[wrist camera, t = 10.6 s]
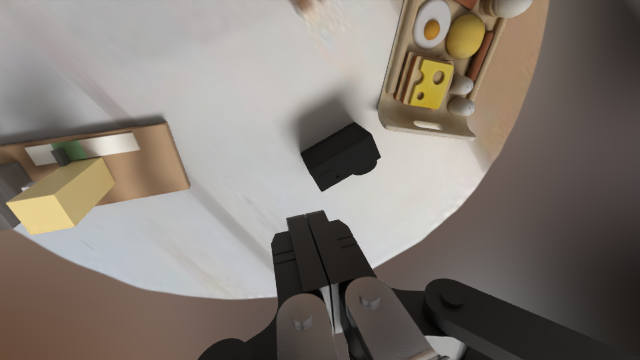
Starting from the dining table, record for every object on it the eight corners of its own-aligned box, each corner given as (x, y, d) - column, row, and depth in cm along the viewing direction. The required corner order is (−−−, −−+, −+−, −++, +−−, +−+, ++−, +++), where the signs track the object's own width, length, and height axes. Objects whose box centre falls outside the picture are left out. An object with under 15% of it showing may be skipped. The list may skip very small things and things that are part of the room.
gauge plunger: (93, 142, 33) (40, 175, 25) (115, 183, 36) (75, 226, 28) (24, 151, 32) (-58, 191, 23) (53, 194, 35) (-11, 243, 26)
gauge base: (167, 122, 36) (150, 138, 29) (190, 185, 40) (180, 210, 34) (-7, 146, 32) (-68, 170, 26) (41, 212, 37) (0, 246, 31)
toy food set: (420, -72, 33) (463, -101, 27) (523, -33, 38) (580, -49, 32) (371, 123, 44) (393, 137, 37) (457, 133, 49) (490, 146, 42)
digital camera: (314, 178, 45) (324, 198, 39) (299, 153, 43) (308, 171, 37) (365, 148, 45) (384, 164, 39) (354, 121, 42) (372, 134, 36)
